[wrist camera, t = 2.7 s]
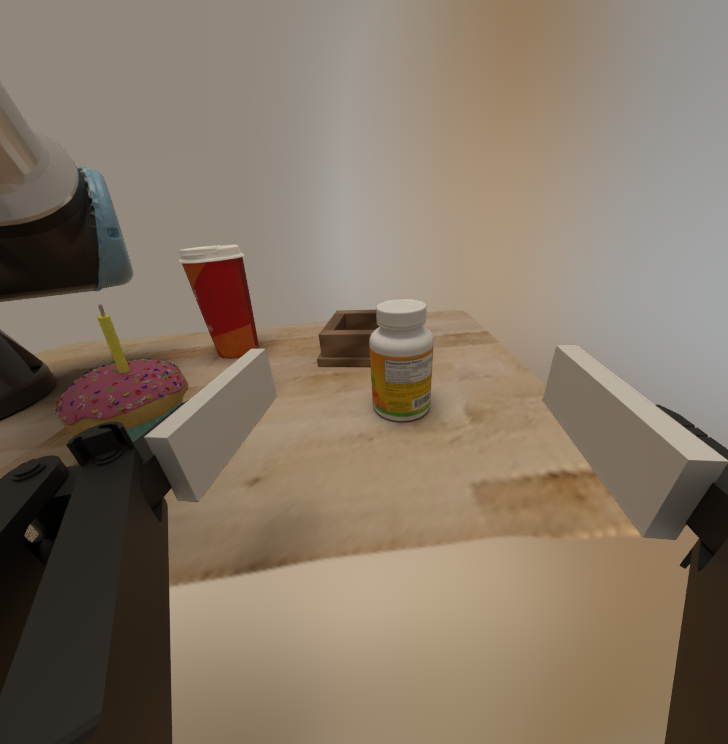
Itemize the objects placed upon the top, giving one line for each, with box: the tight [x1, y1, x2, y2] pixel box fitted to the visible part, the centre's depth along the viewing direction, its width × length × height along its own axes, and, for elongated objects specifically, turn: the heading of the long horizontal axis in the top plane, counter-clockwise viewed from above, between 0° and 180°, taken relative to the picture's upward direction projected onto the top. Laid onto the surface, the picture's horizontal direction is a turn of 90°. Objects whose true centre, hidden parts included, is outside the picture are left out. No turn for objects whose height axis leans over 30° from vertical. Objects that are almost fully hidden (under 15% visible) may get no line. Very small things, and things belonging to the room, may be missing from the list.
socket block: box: [317, 310, 380, 367], centre depth 39 cm, size 11×11×4 cm
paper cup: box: [179, 245, 258, 358], centre depth 39 cm, size 8×8×14 cm
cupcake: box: [55, 305, 188, 442], centre depth 23 cm, size 9×8×12 cm
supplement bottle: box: [370, 299, 433, 421], centre depth 25 cm, size 5×5×10 cm
